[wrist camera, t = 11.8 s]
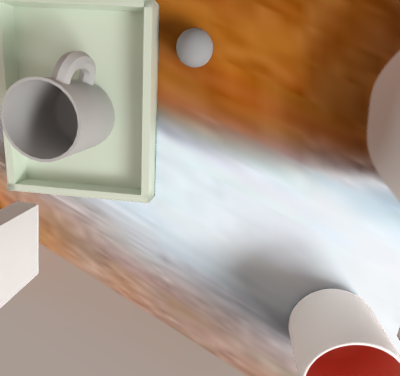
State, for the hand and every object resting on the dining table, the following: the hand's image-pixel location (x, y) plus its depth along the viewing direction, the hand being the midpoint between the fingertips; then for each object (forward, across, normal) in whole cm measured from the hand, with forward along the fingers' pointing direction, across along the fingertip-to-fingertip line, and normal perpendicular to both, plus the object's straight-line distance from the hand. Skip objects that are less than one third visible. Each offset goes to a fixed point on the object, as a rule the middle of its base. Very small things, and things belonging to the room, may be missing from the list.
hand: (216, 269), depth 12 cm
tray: (+27, -17, +3) cm, 32 cm away
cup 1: (+27, -16, +3) cm, 31 cm away
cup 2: (+28, +15, -19) cm, 37 cm away
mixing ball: (+25, -5, +10) cm, 27 cm away
